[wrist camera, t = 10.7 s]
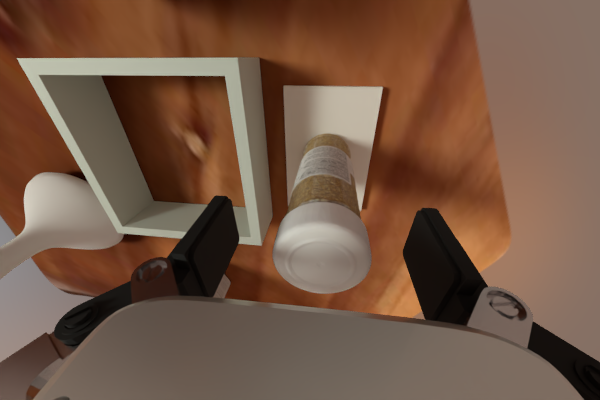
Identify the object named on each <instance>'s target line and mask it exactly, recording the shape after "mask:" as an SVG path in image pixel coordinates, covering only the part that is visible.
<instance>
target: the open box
mask: <svg viewBox="0 0 600 400" xmlns="http://www.w3.org/2000/svg"><path fill="white" fill-rule="evenodd" d="M17 60H18V61H19V63H20V65H21V66H22V68H23V70H24V72H25V73H26V75H27V77H28V79H29V80H30V82H31V84H32V85H33V87H34V89H35V91H36V92H37V94H38V96H39V98H40V99H41V101H42V103H43V104H44V106H45V108H46V110H47V111H48V113H49V115H50V117H51V118H52V120H53V122H54V123H55V125H56V127H57V129H58V130H59V132H60V134H61V136H62V137H63V139H64V141H65V142H66V144H67V146H68V148H69V149H70V151H71V153H72V155H73V156H74V158H75V160H76V162H77V163H78V165H79V167H80V168H81V170H82V172H83V174H84V175H85V177H86V179H87V181H88V182H89V184H90V186H91V187H92V189H93V191H94V193H95V194H96V196H97V198H98V200H99V201H100V203H101V205H102V206H103V208H104V210H105V212H106V213H107V215H108V217H109V219H110V220H111V222H112V224H113V225H114V227H115V229H116V231H117V232H118V233H123V234H135V235H146V236H158V237H169V238H181V239H182V238H183V236H184V235H185V234H186V233H187V231H188V230H189V229H190V227H191V226H192V225H193V223H194V222H195V221H196V220H197V219H198V217H199V216H200V215H201V213H202V212H203V211H204V209H205V208H206V207H207V206H208V205H204V204H189V203H175V202H161V201H154V200H153V198H152V195H151V193H150V190H149V188H148V186H147V183H146V181H145V179H144V176H143V174H142V172H141V169H140V167H139V164H138V162H137V160H136V157H135V155H134V153H133V150H132V148H131V145H130V143H129V141H128V138H127V136H126V134H125V131H124V129H123V127H122V124H121V122H120V119H119V117H118V115H117V112H116V110H115V108H114V105H113V103H112V100H111V98H110V96H109V93H108V91H107V89H106V86H105V84H104V82H103V79H102V77H101V75H146V76H225V79H226V86H227V92H228V98H229V104H230V111H231V117H232V123H233V129H234V135H235V142H236V148H237V154H238V160H239V166H240V173H241V179H242V185H243V191H244V198H245V204H246V207H233V210H234V215H235V219H236V224H237V228H238V233H239V243H238V244H249V245H261V246H262V243H263V241H264V238H265V235H266V233H267V230H268V227H269V225H270V222H271V220H272V217H273V213H272V201H271V189H270V177H269V166H268V154H267V142H266V130H265V119H264V107H263V95H262V83H261V71H260V60H259V58H17Z"/></svg>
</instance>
